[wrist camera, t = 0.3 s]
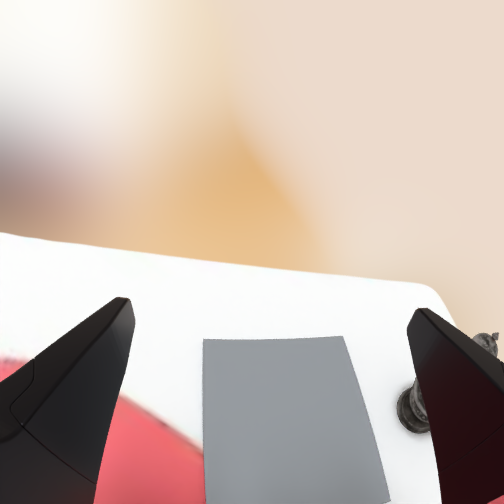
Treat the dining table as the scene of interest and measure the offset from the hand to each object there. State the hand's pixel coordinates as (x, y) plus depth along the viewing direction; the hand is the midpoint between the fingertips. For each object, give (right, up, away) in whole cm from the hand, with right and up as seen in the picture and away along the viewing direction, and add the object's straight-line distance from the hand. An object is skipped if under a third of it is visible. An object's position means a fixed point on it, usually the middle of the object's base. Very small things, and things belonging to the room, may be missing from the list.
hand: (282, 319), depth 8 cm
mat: (+2, -12, +12) cm, 17 cm away
